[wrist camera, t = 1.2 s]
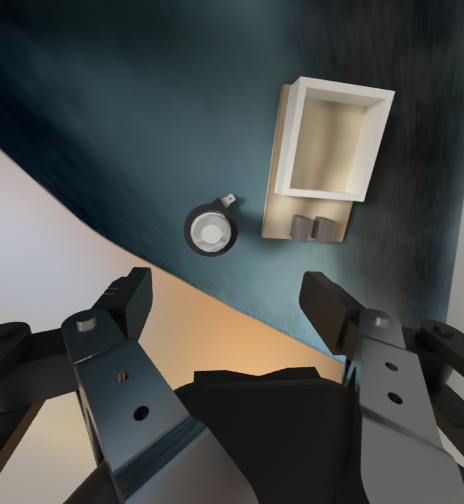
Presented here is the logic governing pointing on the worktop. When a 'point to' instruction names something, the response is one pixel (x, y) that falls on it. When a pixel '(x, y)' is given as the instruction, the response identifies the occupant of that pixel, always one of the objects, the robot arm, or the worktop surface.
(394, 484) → the robot arm
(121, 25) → the worktop surface
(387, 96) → the white open box
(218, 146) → the worktop surface
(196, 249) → the push button
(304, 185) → the board
